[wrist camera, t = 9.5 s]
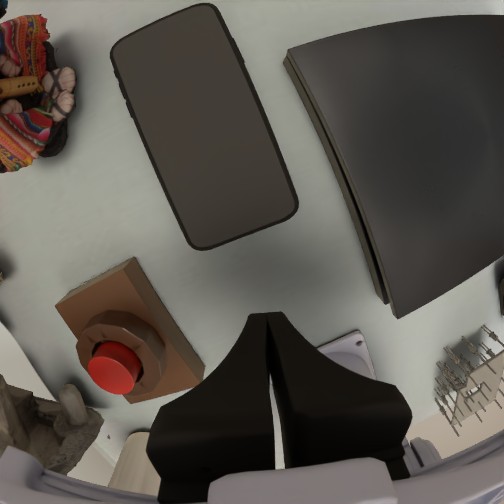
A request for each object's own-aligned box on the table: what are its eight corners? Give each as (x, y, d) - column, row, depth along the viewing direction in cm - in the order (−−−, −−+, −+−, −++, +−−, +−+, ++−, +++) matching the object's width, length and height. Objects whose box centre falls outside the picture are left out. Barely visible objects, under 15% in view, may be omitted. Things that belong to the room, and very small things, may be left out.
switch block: (205, 366, 22) (199, 402, 19) (137, 387, 23) (124, 419, 19) (134, 256, 19) (111, 280, 16) (68, 293, 20) (41, 318, 17)
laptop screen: (566, 197, 15) (572, 199, 15) (392, 313, 18) (397, 319, 17) (508, 18, 12) (513, 15, 11) (285, 54, 14) (287, 49, 13)
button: (150, 371, 18) (143, 389, 17) (116, 382, 19) (108, 398, 17) (122, 334, 17) (112, 351, 16) (89, 348, 18) (78, 363, 16)
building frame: (432, 401, 25) (455, 439, 20) (435, 349, 23) (467, 390, 17) (477, 376, 25) (503, 408, 19) (485, 322, 22) (519, 355, 17)
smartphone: (192, 258, 19) (103, 46, 14) (194, 253, 20) (109, 50, 15) (305, 214, 18) (213, -5, 13) (303, 211, 19) (214, 1, 14)
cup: (170, 419, 24) (142, 555, 11) (206, 462, 27) (196, 575, 13) (105, 425, 25) (64, 535, 12) (144, 466, 28) (122, 564, 14)
